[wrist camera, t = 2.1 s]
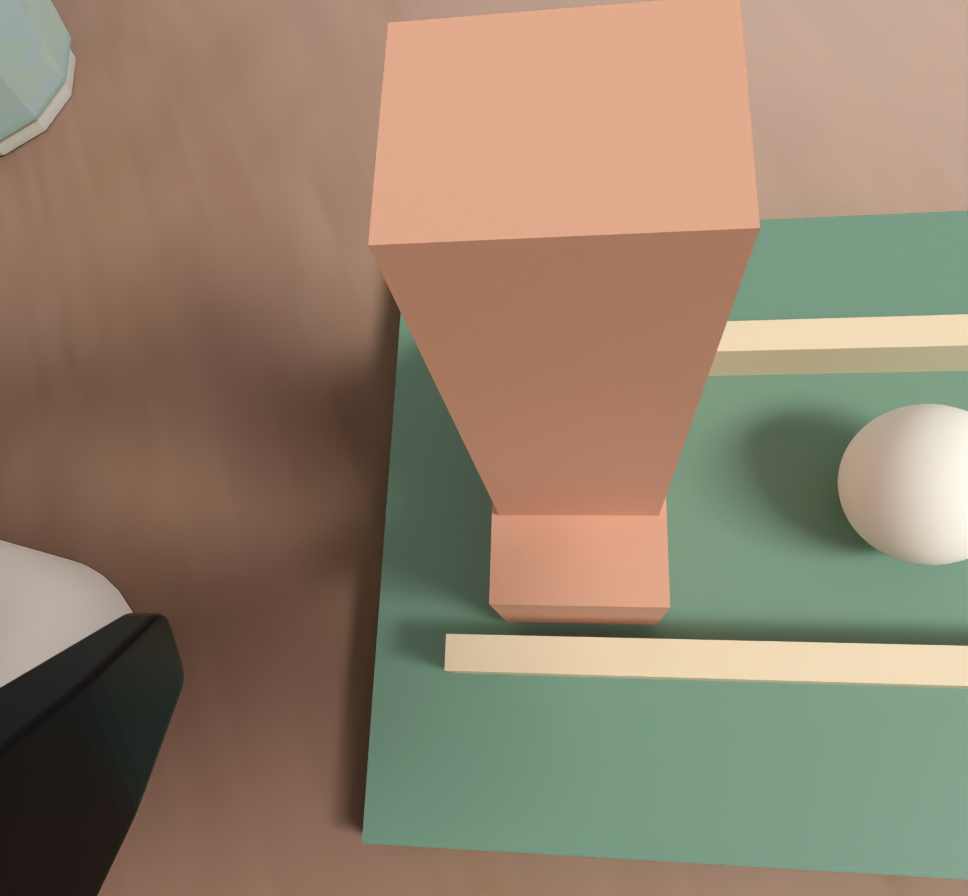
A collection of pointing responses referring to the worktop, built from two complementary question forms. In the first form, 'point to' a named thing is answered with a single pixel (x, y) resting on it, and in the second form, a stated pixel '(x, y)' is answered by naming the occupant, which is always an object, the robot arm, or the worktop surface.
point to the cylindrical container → (48, 607)
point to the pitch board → (704, 608)
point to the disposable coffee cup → (32, 69)
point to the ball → (910, 484)
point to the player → (569, 270)
